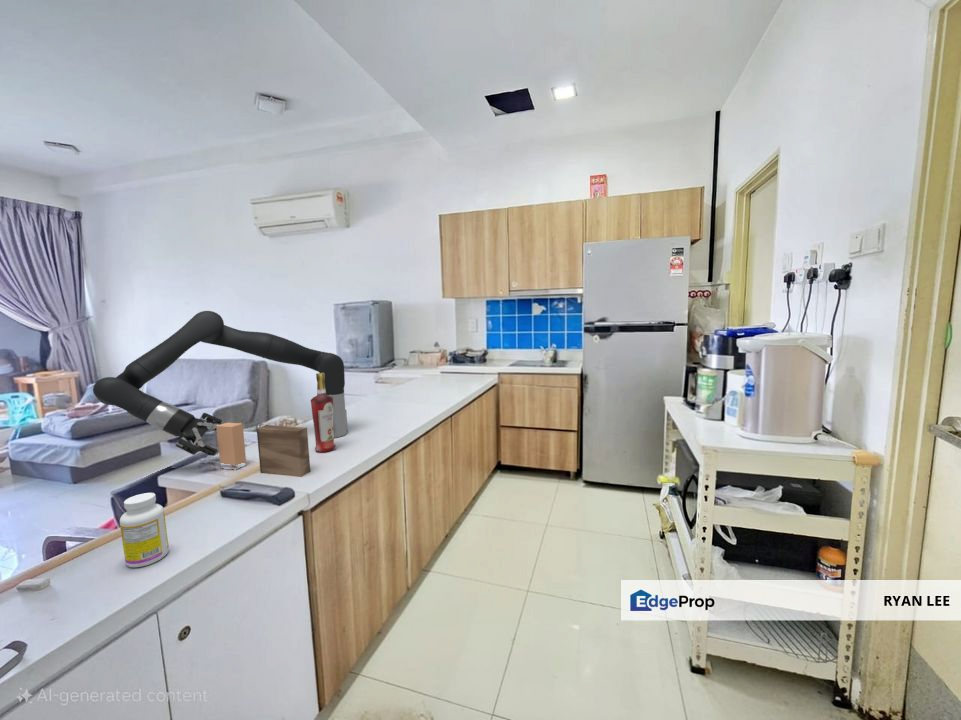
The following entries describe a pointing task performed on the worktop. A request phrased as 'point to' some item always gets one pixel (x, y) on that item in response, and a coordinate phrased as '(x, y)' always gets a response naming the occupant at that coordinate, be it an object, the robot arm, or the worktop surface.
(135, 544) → the supplement bottle
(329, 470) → the worktop surface
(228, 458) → the light orange tall block
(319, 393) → the liquor
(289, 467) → the brown wooden flat block
